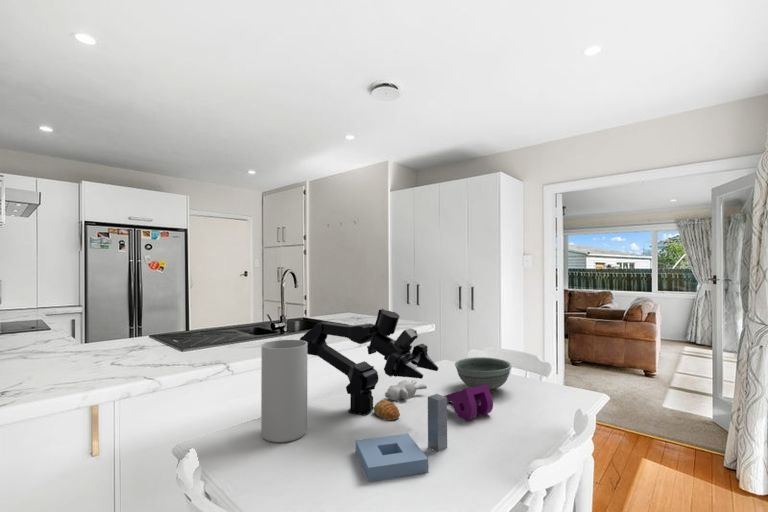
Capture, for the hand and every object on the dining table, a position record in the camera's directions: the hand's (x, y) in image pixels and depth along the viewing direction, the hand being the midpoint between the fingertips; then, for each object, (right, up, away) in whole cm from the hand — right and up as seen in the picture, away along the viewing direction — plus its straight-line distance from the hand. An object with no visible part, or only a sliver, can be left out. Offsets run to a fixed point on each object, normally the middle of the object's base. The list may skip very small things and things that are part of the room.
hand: (430, 373), depth 112 cm
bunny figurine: (-6, -17, +28) cm, 33 cm away
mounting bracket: (+12, -17, +14) cm, 25 cm away
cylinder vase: (-41, -16, -3) cm, 44 cm away
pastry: (-12, -17, +11) cm, 23 cm away
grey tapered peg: (0, -16, -11) cm, 20 cm away
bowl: (+24, -17, +35) cm, 46 cm away
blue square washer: (-12, -16, -18) cm, 27 cm away
